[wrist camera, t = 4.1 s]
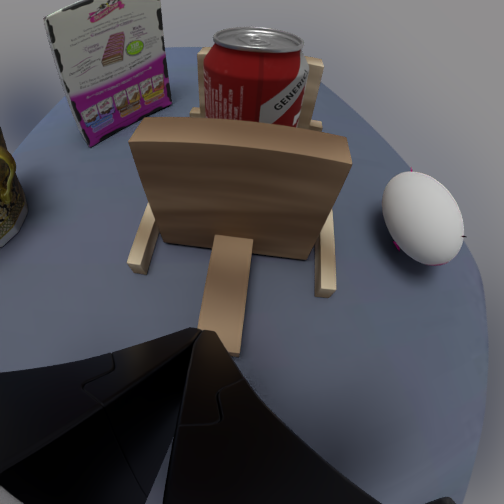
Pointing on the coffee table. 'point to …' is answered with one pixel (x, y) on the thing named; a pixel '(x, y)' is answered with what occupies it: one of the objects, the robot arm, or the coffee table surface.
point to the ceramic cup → (10, 196)
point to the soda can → (255, 76)
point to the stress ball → (423, 218)
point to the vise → (325, 240)
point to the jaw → (237, 198)
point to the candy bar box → (110, 62)
